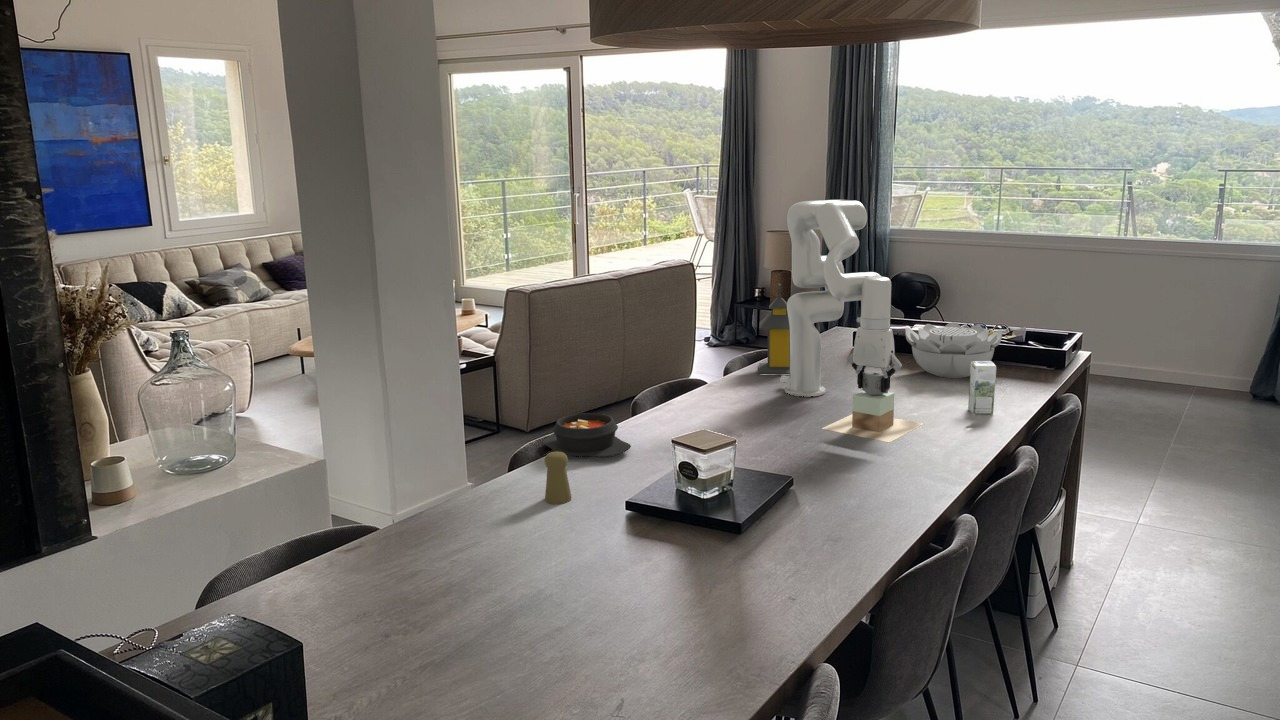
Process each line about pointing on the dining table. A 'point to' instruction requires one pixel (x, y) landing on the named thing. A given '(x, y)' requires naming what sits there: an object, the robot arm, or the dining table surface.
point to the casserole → (586, 436)
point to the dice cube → (872, 382)
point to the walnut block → (872, 421)
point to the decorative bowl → (951, 348)
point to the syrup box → (982, 387)
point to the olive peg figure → (557, 479)
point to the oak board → (886, 435)
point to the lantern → (777, 338)
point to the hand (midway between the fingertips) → (873, 388)
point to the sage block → (873, 403)
